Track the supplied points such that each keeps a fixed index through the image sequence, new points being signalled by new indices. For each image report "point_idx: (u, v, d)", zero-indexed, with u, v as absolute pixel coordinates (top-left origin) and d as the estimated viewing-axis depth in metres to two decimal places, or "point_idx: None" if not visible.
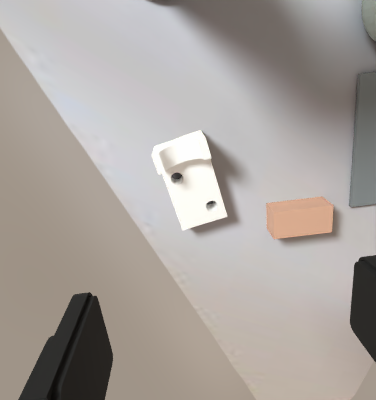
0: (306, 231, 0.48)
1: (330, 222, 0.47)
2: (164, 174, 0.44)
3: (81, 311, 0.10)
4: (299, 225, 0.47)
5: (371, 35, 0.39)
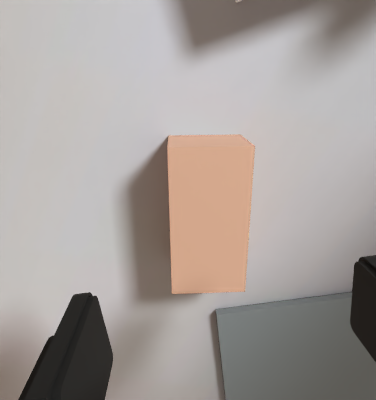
0: (182, 235, 0.18)
1: (199, 288, 0.19)
2: None
3: (81, 311, 0.10)
4: (203, 216, 0.17)
5: None
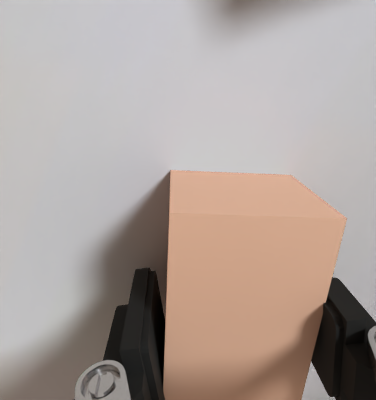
0: (186, 366, 0.09)
1: None
2: None
3: (147, 282, 0.11)
4: (229, 337, 0.09)
5: None
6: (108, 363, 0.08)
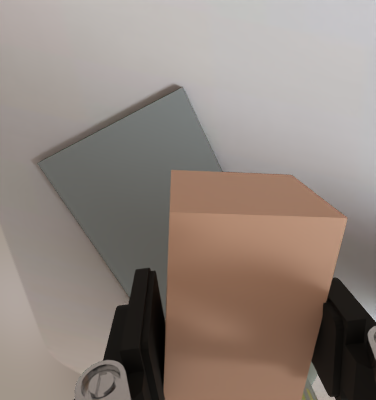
0: (187, 365, 0.09)
1: None
2: None
3: (147, 282, 0.11)
4: (229, 336, 0.09)
5: None
6: (108, 363, 0.08)
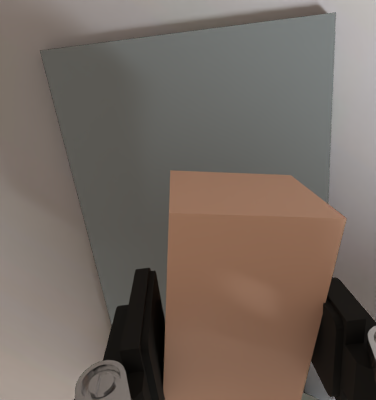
0: (186, 366, 0.09)
1: None
2: None
3: (147, 282, 0.11)
4: (228, 337, 0.09)
5: None
6: (108, 363, 0.08)
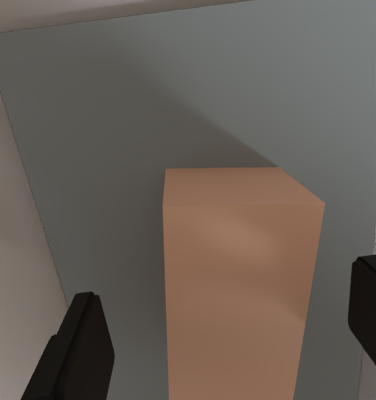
0: (188, 347, 0.10)
1: None
2: None
3: (83, 310, 0.10)
4: (225, 318, 0.10)
5: None
6: None
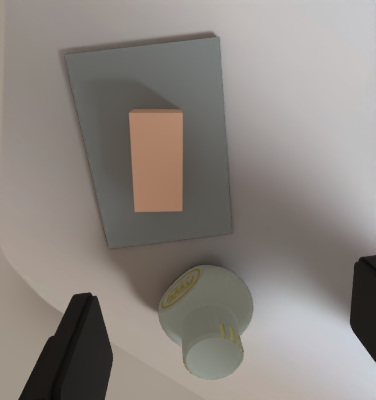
0: (139, 170, 0.28)
1: (152, 208, 0.29)
2: None
3: (81, 311, 0.10)
4: (152, 158, 0.28)
5: (239, 278, 0.35)
6: None
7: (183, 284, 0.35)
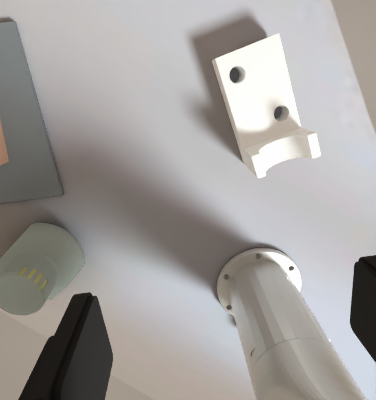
0: None
1: None
2: (296, 118, 0.36)
3: (81, 311, 0.10)
4: None
5: (67, 233, 0.40)
6: None
7: None
